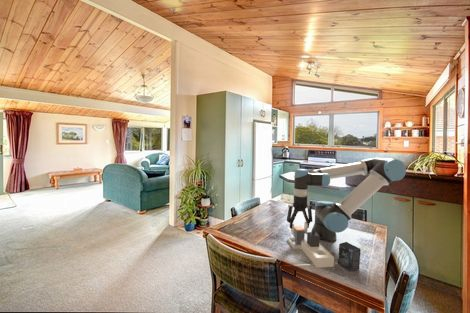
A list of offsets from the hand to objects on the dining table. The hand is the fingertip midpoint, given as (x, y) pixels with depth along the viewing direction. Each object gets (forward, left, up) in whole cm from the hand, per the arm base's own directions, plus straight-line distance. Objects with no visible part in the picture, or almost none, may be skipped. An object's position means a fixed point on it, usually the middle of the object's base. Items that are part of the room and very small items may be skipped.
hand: (298, 233), depth 129 cm
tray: (0, 0, -7) cm, 7 cm away
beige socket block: (-7, +14, -7) cm, 17 cm away
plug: (0, 0, -7) cm, 7 cm away
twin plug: (-4, +10, -7) cm, 13 cm away
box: (-16, +23, -7) cm, 29 cm away
